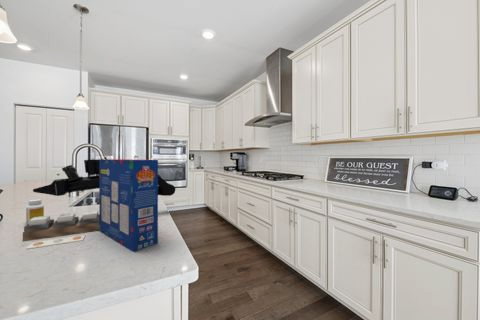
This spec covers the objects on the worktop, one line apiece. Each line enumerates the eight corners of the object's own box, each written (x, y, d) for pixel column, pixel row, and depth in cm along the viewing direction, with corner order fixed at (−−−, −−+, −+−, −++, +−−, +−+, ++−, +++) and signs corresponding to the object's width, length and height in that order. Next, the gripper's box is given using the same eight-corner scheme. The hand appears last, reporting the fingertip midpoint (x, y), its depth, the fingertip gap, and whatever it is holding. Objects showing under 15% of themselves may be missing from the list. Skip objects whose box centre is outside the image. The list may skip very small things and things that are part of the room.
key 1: (50, 221, 76) (50, 215, 76) (45, 224, 72) (45, 218, 72) (34, 223, 74) (34, 217, 74) (28, 226, 70) (28, 220, 70)
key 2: (98, 216, 83) (98, 210, 83) (96, 219, 79) (96, 213, 79) (85, 217, 81) (85, 212, 81) (82, 220, 77) (82, 214, 77)
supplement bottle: (47, 220, 91) (47, 199, 91) (33, 224, 85) (33, 201, 85) (36, 220, 91) (36, 198, 91) (22, 223, 86) (22, 201, 86)
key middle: (75, 218, 79) (75, 213, 79) (72, 221, 76) (72, 216, 76) (60, 220, 77) (60, 214, 77) (57, 223, 73) (57, 217, 73)
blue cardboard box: (157, 243, 67) (157, 159, 67) (133, 252, 61) (133, 160, 60) (121, 225, 84) (121, 159, 84) (99, 231, 78) (99, 159, 78)
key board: (101, 225, 85) (101, 213, 85) (99, 230, 79) (99, 218, 79) (31, 234, 74) (31, 221, 74) (22, 241, 68) (22, 227, 68)
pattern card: (85, 235, 73) (85, 234, 73) (82, 240, 69) (82, 239, 69) (33, 243, 67) (33, 241, 67) (26, 249, 62) (26, 247, 62)
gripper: (87, 165, 95) (42, 169, 87) (81, 164, 79) (25, 168, 71) (90, 189, 95) (45, 195, 87) (84, 192, 79) (29, 200, 71)
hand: (37, 189), depth 79 cm, fingers open, 9 cm apart
